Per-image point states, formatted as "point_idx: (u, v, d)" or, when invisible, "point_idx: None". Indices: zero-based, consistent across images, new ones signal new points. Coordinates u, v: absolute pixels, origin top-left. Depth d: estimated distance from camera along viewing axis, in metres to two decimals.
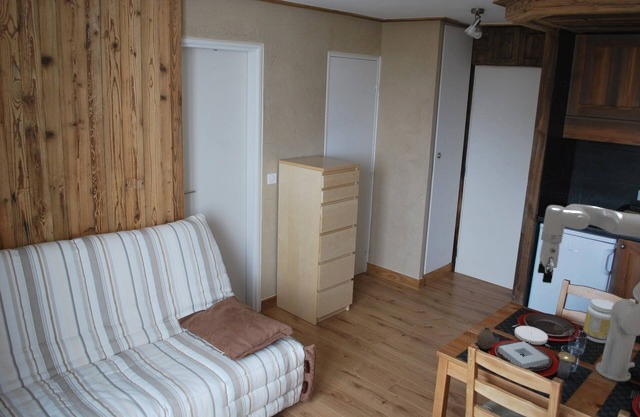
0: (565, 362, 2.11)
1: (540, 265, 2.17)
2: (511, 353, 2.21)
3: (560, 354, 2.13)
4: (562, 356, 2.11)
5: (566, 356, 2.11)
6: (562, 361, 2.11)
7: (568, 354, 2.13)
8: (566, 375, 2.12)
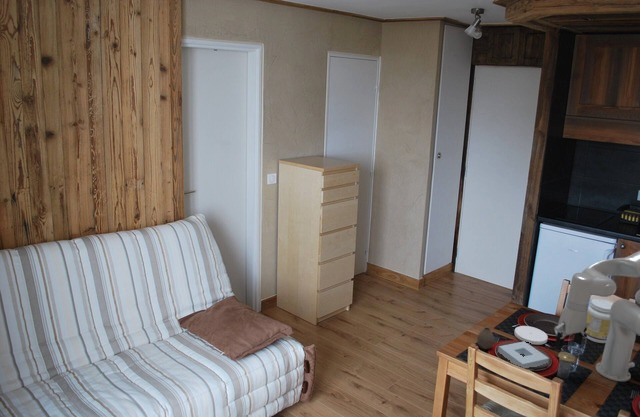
0: (565, 362, 2.11)
1: None
2: (511, 353, 2.21)
3: (560, 354, 2.13)
4: (562, 356, 2.11)
5: (566, 356, 2.11)
6: (562, 361, 2.11)
7: (568, 354, 2.13)
8: (566, 375, 2.12)
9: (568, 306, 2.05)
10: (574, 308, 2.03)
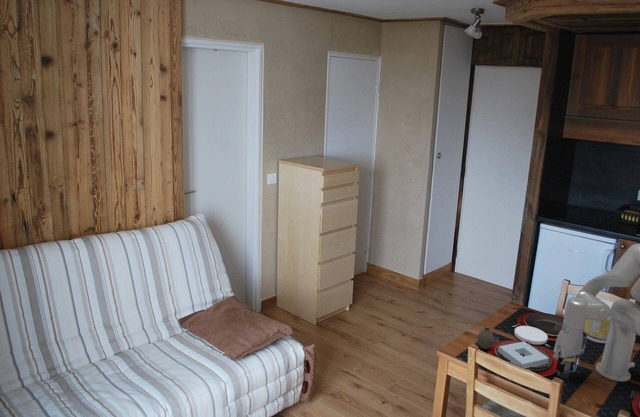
0: (565, 362, 2.11)
1: None
2: (511, 353, 2.21)
3: None
4: None
5: None
6: None
7: None
8: (566, 375, 2.12)
9: (563, 330, 2.08)
10: (569, 332, 2.06)
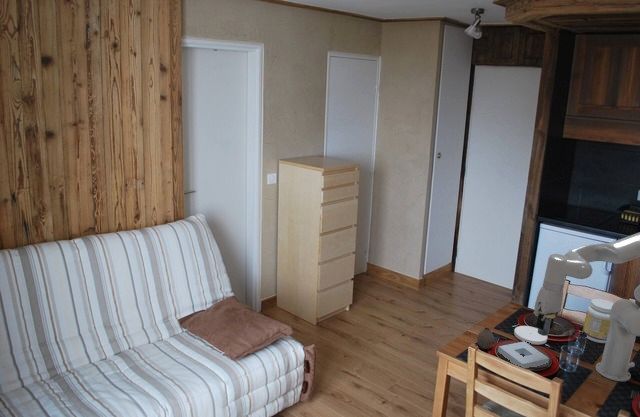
0: (545, 318, 2.12)
1: None
2: (511, 353, 2.21)
3: None
4: None
5: None
6: None
7: None
8: (546, 332, 2.13)
9: (544, 286, 2.09)
10: (550, 288, 2.07)
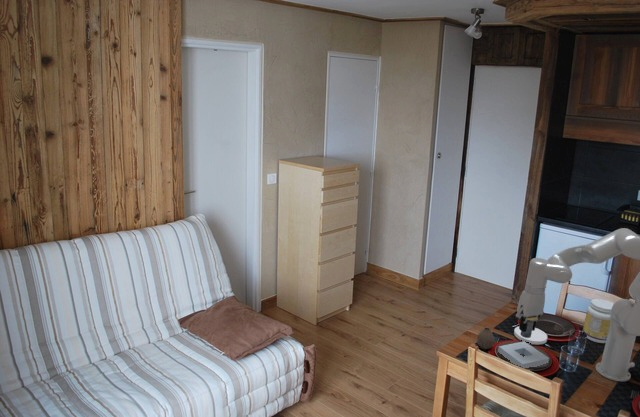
0: (527, 321, 2.17)
1: None
2: (511, 353, 2.21)
3: None
4: None
5: None
6: None
7: None
8: (528, 334, 2.18)
9: (526, 290, 2.14)
10: (531, 292, 2.12)
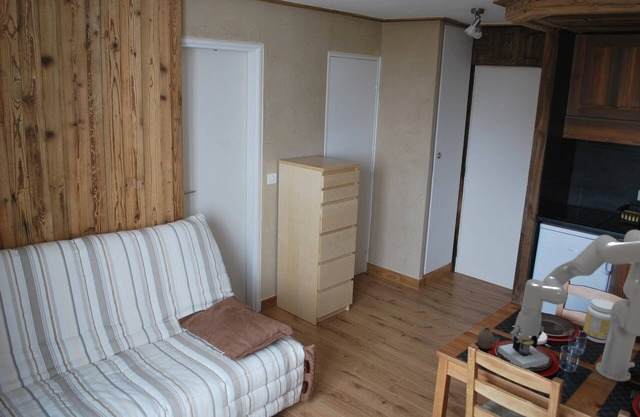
0: (524, 345, 2.19)
1: None
2: (511, 353, 2.21)
3: None
4: (521, 339, 2.20)
5: (525, 340, 2.20)
6: (521, 344, 2.20)
7: (527, 338, 2.22)
8: None
9: (522, 311, 2.16)
10: (528, 313, 2.14)
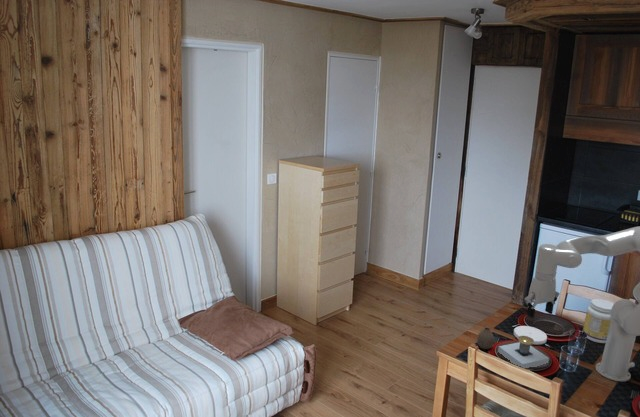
0: (524, 345, 2.19)
1: None
2: (511, 353, 2.21)
3: (519, 338, 2.21)
4: (521, 340, 2.20)
5: (525, 340, 2.20)
6: (521, 344, 2.20)
7: (527, 338, 2.22)
8: None
9: (536, 277, 2.12)
10: (542, 278, 2.10)
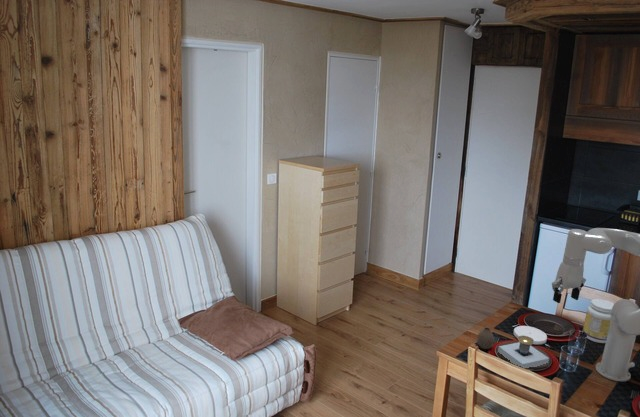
0: (524, 345, 2.19)
1: None
2: (511, 353, 2.21)
3: (519, 338, 2.21)
4: (521, 339, 2.20)
5: (525, 340, 2.20)
6: (521, 344, 2.20)
7: (526, 337, 2.22)
8: None
9: (564, 261, 2.11)
10: (570, 263, 2.08)
